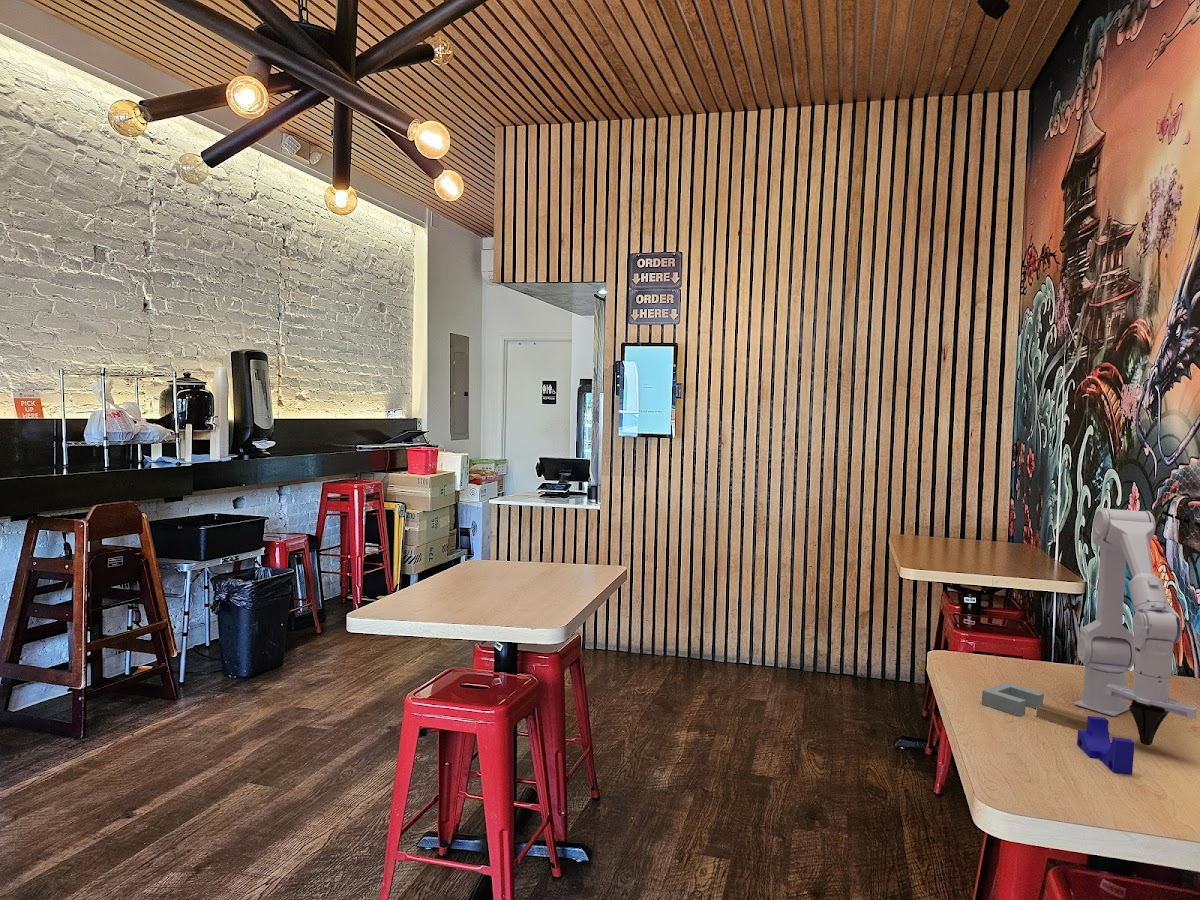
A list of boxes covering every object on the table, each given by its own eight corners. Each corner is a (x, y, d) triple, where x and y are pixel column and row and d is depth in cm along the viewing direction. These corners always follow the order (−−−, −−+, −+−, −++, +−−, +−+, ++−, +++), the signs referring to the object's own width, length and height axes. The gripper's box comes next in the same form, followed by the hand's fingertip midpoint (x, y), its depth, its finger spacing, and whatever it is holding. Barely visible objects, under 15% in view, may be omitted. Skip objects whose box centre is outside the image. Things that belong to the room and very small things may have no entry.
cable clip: (1076, 745, 155) (1079, 714, 155) (1102, 748, 154) (1104, 717, 154) (1104, 772, 143) (1106, 739, 143) (1131, 776, 142) (1134, 742, 142)
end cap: (1005, 695, 181) (1006, 682, 181) (1042, 707, 175) (1043, 693, 175) (981, 704, 175) (982, 690, 175) (1019, 716, 168) (1020, 702, 168)
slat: (1043, 715, 171) (1044, 703, 171) (1107, 734, 162) (1108, 722, 162) (1036, 719, 168) (1037, 707, 168) (1100, 738, 159) (1101, 726, 159)
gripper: (1101, 665, 157) (1095, 734, 158) (1189, 688, 146) (1183, 762, 146) (1116, 660, 161) (1110, 727, 162) (1203, 682, 150) (1196, 753, 151)
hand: (1146, 743), depth 155 cm, fingers closed
